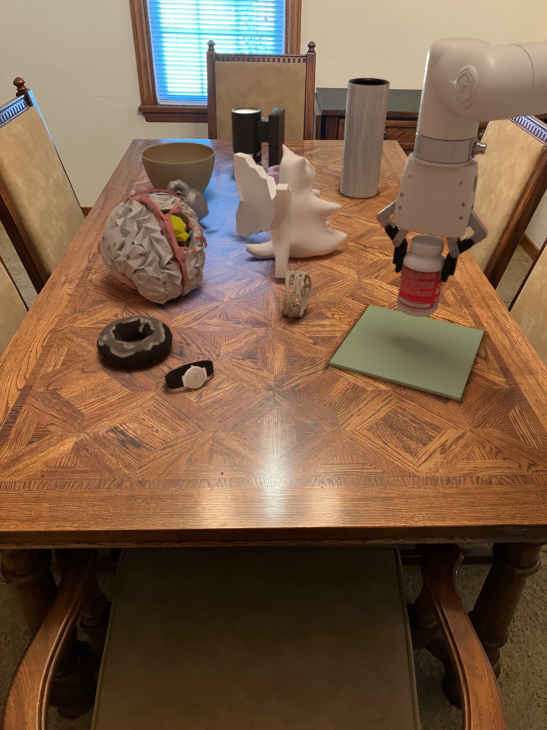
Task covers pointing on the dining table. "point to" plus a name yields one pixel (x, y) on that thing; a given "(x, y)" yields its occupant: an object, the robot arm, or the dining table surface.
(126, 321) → the donut
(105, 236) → the decorative sculpture
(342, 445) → the dining table surface
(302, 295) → the bracelet
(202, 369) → the watch
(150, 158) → the flower pot
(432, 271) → the pill bottle
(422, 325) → the mat
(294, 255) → the white spiky figurine
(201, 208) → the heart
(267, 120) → the light fixture
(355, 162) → the planter
